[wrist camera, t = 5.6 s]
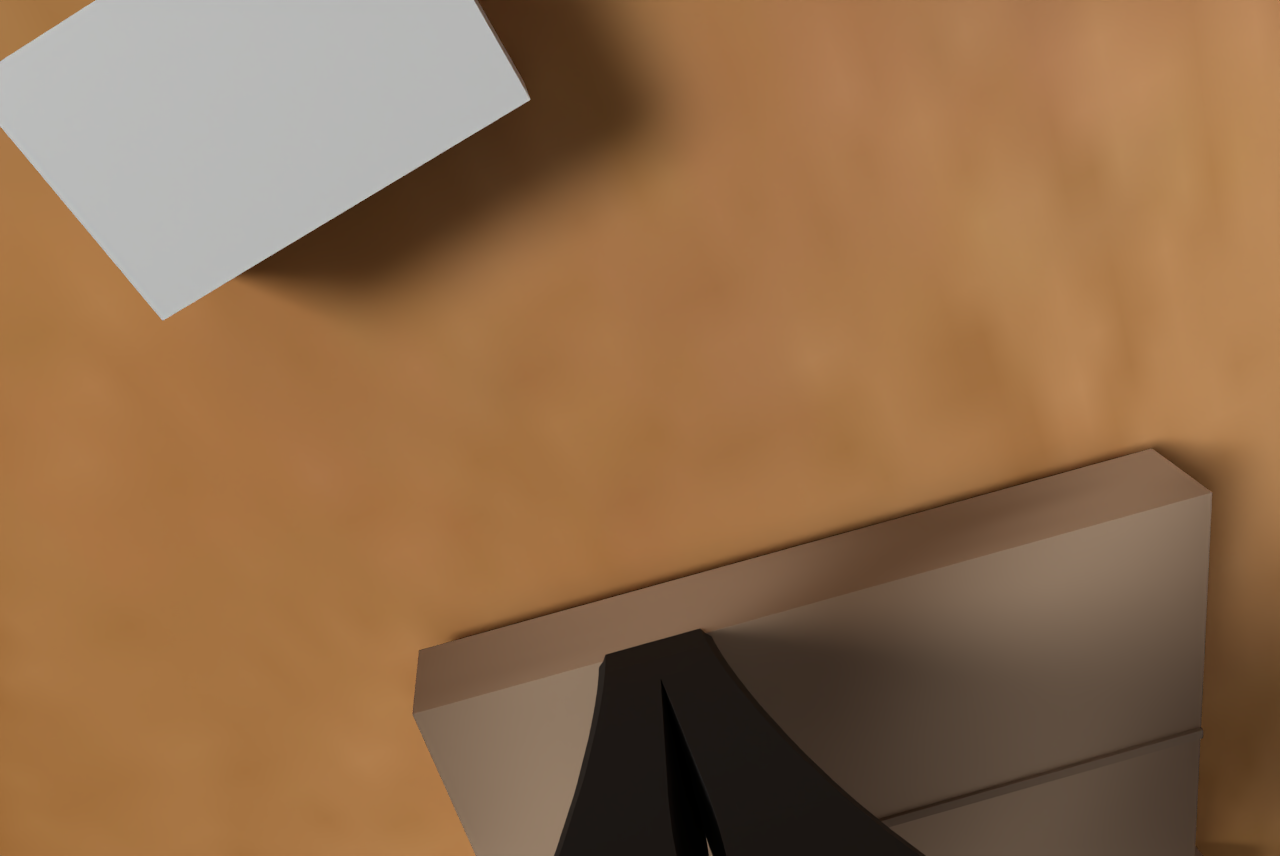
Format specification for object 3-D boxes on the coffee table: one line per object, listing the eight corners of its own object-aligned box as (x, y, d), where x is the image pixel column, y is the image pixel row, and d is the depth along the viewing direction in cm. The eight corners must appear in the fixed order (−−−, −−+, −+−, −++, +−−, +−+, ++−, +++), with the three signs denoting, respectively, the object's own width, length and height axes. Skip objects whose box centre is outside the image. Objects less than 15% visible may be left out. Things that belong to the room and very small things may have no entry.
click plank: (1152, 448, 13) (1215, 495, 12) (1146, 852, 16) (1193, 917, 15) (419, 650, 13) (411, 717, 12) (575, 1015, 16) (582, 1093, 15)
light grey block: (394, -148, 10) (372, -177, 8) (523, 80, 11) (529, 99, 9) (60, 65, 10) (-36, 84, 8) (216, 265, 11) (162, 320, 9)
